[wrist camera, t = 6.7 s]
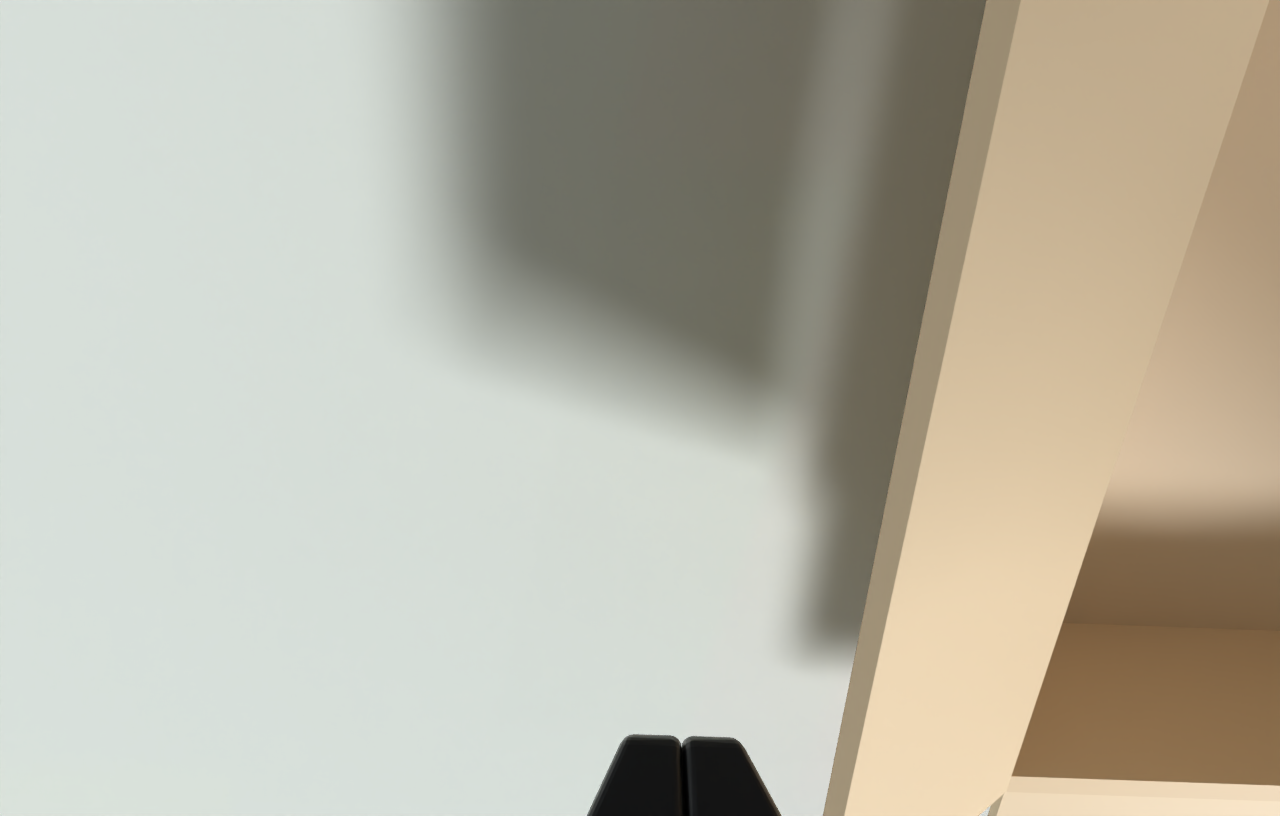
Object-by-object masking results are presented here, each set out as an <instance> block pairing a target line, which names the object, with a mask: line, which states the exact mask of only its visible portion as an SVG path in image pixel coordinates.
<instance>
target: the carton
mask: <svg viewBox="0 0 1280 816" xmlns="http://www.w3.org/2000/svg"><path fill="white" fill-rule="evenodd" d="M988 816H1280V0H1269V3H1268V6H1267V9H1266V12H1265V15H1264V18H1263V21H1262V24H1261V27H1260V30H1259V33H1258V36H1257V39H1256V42H1255V45H1254V48H1253V51H1252V54H1251V57H1250V60H1249V63H1248V66H1247V69H1246V72H1245V75H1244V78H1243V81H1242V84H1241V87H1240V90H1239V93H1238V96H1237V99H1236V102H1235V105H1234V108H1233V111H1232V114H1231V117H1230V120H1229V123H1228V126H1227V129H1226V132H1225V135H1224V138H1223V141H1222V144H1221V147H1220V150H1219V153H1218V156H1217V159H1216V162H1215V165H1214V168H1213V171H1212V174H1211V177H1210V180H1209V183H1208V186H1207V189H1206V192H1205V195H1204V198H1203V201H1202V204H1201V207H1200V210H1199V213H1198V216H1197V220H1196V223H1195V226H1194V229H1193V232H1192V235H1191V238H1190V241H1189V244H1188V247H1187V250H1186V253H1185V256H1184V259H1183V262H1182V265H1181V268H1180V271H1179V274H1178V277H1177V280H1176V283H1175V286H1174V289H1173V292H1172V295H1171V298H1170V301H1169V304H1168V307H1167V310H1166V313H1165V316H1164V319H1163V322H1162V325H1161V328H1160V331H1159V334H1158V337H1157V340H1156V343H1155V346H1154V349H1153V352H1152V355H1151V358H1150V361H1149V364H1148V367H1147V370H1146V373H1145V376H1144V379H1143V382H1142V385H1141V388H1140V391H1139V394H1138V397H1137V400H1136V403H1135V406H1134V409H1133V412H1132V415H1131V418H1130V421H1129V424H1128V427H1127V430H1126V433H1125V436H1124V439H1123V442H1122V445H1121V448H1120V451H1119V454H1118V457H1117V460H1116V463H1115V466H1114V469H1113V472H1112V475H1111V478H1110V481H1109V484H1108V487H1107V490H1106V493H1105V496H1104V499H1103V502H1102V505H1101V508H1100V511H1099V514H1098V517H1097V520H1096V523H1095V526H1094V529H1093V532H1092V535H1091V538H1090V541H1089V544H1088V547H1087V550H1086V553H1085V556H1084V559H1083V562H1082V565H1081V568H1080V571H1079V574H1078V577H1077V580H1076V583H1075V586H1074V589H1073V592H1072V595H1071V598H1070V601H1069V604H1068V607H1067V610H1066V613H1065V616H1064V619H1063V622H1062V625H1061V628H1060V631H1059V634H1058V637H1057V640H1056V643H1055V646H1054V649H1053V652H1052V656H1051V659H1050V662H1049V665H1048V668H1047V671H1046V674H1045V677H1044V680H1043V683H1042V686H1041V689H1040V692H1039V695H1038V698H1037V701H1036V704H1035V707H1034V710H1033V713H1032V716H1031V719H1030V722H1029V725H1028V728H1027V731H1026V734H1025V737H1024V740H1023V743H1022V746H1021V749H1020V752H1019V755H1018V758H1017V761H1016V764H1015V767H1014V770H1013V773H1012V776H1011V779H1010V782H1009V785H1008V788H1007V791H1006V792H1005V793H1004V794H1003V795H1002V796H1001V797H1000V798H998V799H997V800H996V801H995V802H994V803H993V804H992V805H991V807H990V810H989V813H988Z"/></svg>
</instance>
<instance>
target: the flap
mask: <svg viewBox="0 0 1280 816" xmlns="http://www.w3.org/2000/svg"><path fill="white" fill-rule="evenodd" d="M1268 3H1269V0H986V4H985V9H984V14H983V19H982V24H981V29H980V34H979V39H978V44H977V49H976V54H975V59H974V64H973V69H972V74H971V79H970V84H969V89H968V94H967V99H966V104H965V109H964V114H963V119H962V124H961V129H960V134H959V139H958V144H957V149H956V154H955V159H954V164H953V169H952V174H951V179H950V184H949V189H948V194H947V199H946V204H945V209H944V214H943V219H942V224H941V229H940V234H939V239H938V244H937V249H936V254H935V259H934V264H933V269H932V274H931V279H930V284H929V289H928V294H927V299H926V304H925V309H924V314H923V319H922V324H921V329H920V334H919V339H918V344H917V349H916V354H915V359H914V364H913V369H912V374H911V379H910V384H909V389H908V394H907V399H906V404H905V409H904V414H903V419H902V424H901V429H900V434H899V439H898V444H897V449H896V454H895V459H894V464H893V469H892V474H891V479H890V484H889V489H888V494H887V499H886V504H885V508H884V513H883V518H882V523H881V528H880V533H879V538H878V543H877V548H876V553H875V558H874V563H873V568H872V573H871V578H870V583H869V588H868V593H867V598H866V603H865V608H864V613H863V618H862V623H861V628H860V633H859V638H858V643H857V648H856V653H855V658H854V663H853V668H852V673H851V678H850V683H849V688H848V693H847V698H846V703H845V708H844V713H843V718H842V723H841V728H840V733H839V738H838V743H837V748H836V753H835V758H834V763H833V768H832V773H831V778H830V783H829V788H828V793H827V798H826V803H825V808H824V813H823V816H979V815H980V814H981V813H982V812H984V811H985V810H986V809H987V808H988V807H989V806H990V805H992V804H993V803H994V802H995V801H996V800H997V799H998V798H1000V797H1001V796H1002V795H1003V794H1004V793H1005V792H1006V791H1007V788H1008V785H1009V782H1010V779H1011V776H1012V773H1013V770H1014V767H1015V764H1016V761H1017V758H1018V755H1019V752H1020V749H1021V746H1022V743H1023V740H1024V737H1025V734H1026V731H1027V728H1028V725H1029V722H1030V719H1031V716H1032V713H1033V710H1034V707H1035V704H1036V701H1037V698H1038V695H1039V692H1040V689H1041V686H1042V683H1043V680H1044V677H1045V674H1046V671H1047V668H1048V665H1049V662H1050V659H1051V656H1052V652H1053V649H1054V646H1055V643H1056V640H1057V637H1058V634H1059V631H1060V628H1061V625H1062V622H1063V619H1064V616H1065V613H1066V610H1067V607H1068V604H1069V601H1070V598H1071V595H1072V592H1073V589H1074V586H1075V583H1076V580H1077V577H1078V574H1079V571H1080V568H1081V565H1082V562H1083V559H1084V556H1085V553H1086V550H1087V547H1088V544H1089V541H1090V538H1091V535H1092V532H1093V529H1094V526H1095V523H1096V520H1097V517H1098V514H1099V511H1100V508H1101V505H1102V502H1103V499H1104V496H1105V493H1106V490H1107V487H1108V484H1109V481H1110V478H1111V475H1112V472H1113V469H1114V466H1115V463H1116V460H1117V457H1118V454H1119V451H1120V448H1121V445H1122V442H1123V439H1124V436H1125V433H1126V430H1127V427H1128V424H1129V421H1130V418H1131V415H1132V412H1133V409H1134V406H1135V403H1136V400H1137V397H1138V394H1139V391H1140V388H1141V385H1142V382H1143V379H1144V376H1145V373H1146V370H1147V367H1148V364H1149V361H1150V358H1151V355H1152V352H1153V349H1154V346H1155V343H1156V340H1157V337H1158V334H1159V331H1160V328H1161V325H1162V322H1163V319H1164V316H1165V313H1166V310H1167V307H1168V304H1169V301H1170V298H1171V295H1172V292H1173V289H1174V286H1175V283H1176V280H1177V277H1178V274H1179V271H1180V268H1181V265H1182V262H1183V259H1184V256H1185V253H1186V250H1187V247H1188V244H1189V241H1190V238H1191V235H1192V232H1193V229H1194V226H1195V223H1196V220H1197V216H1198V213H1199V210H1200V207H1201V204H1202V201H1203V198H1204V195H1205V192H1206V189H1207V186H1208V183H1209V180H1210V177H1211V174H1212V171H1213V168H1214V165H1215V162H1216V159H1217V156H1218V153H1219V150H1220V147H1221V144H1222V141H1223V138H1224V135H1225V132H1226V129H1227V126H1228V123H1229V120H1230V117H1231V114H1232V111H1233V108H1234V105H1235V102H1236V99H1237V96H1238V93H1239V90H1240V87H1241V84H1242V81H1243V78H1244V75H1245V72H1246V69H1247V66H1248V63H1249V60H1250V57H1251V54H1252V51H1253V48H1254V45H1255V42H1256V39H1257V36H1258V33H1259V30H1260V27H1261V24H1262V21H1263V18H1264V15H1265V12H1266V9H1267V6H1268Z"/></svg>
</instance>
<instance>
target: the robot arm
mask: <svg viewBox="0 0 1280 816" xmlns="http://www.w3.org/2000/svg"><path fill="white" fill-rule="evenodd" d="M587 816H781V814H780V812H779V810H778V808H777V807H776V805H775V803H774V801H773V799H772V797H771V796H770V794H769V792H768V790H767V788H766V786H765V785H764V783H763V781H762V779H761V777H760V775H759V774H758V772H757V770H756V768H755V766H754V764H753V762H752V761H751V759H750V757H749V755H748V753H747V751H746V750H745V748H744V747H743V746H742V744H741V743H740V742H739V741H738V740H736V739H734V738H730V737H703V736H691V737H688V738H687V739H685V740H684V741H683V743H682V747H681V743H680V741H679V740H678V739H677V738H676V737H674V736H671V735H639V734H633V735H629V736H627V737H626V738H625V739H624V740H623V741H622V742H621V744H620V746H619V748H618V750H617V752H616V754H615V756H614V758H613V761H612V763H611V765H610V767H609V769H608V771H607V773H606V776H605V778H604V780H603V782H602V784H601V786H600V789H599V791H598V793H597V795H596V797H595V799H594V801H593V804H592V806H591V808H590V810H589V812H588V814H587Z"/></svg>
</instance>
